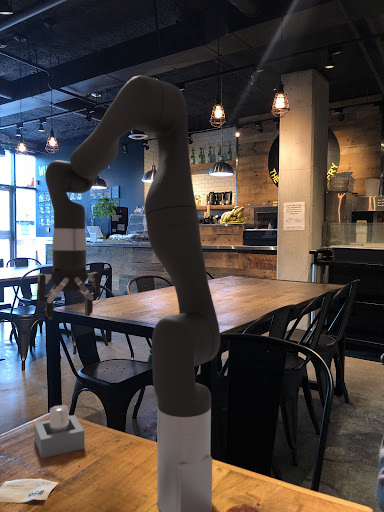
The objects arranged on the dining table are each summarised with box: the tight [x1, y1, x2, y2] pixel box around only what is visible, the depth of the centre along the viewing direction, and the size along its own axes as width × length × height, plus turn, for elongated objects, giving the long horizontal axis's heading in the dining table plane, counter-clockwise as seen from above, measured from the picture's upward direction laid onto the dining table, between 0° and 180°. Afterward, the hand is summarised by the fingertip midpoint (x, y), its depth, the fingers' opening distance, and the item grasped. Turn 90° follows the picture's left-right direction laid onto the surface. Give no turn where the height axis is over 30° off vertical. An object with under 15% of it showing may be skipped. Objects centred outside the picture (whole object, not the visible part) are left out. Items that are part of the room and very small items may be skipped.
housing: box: [33, 414, 86, 460], centre depth 94 cm, size 9×9×4 cm
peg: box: [49, 404, 70, 435], centre depth 94 cm, size 4×4×8 cm
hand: (69, 317), depth 100 cm, fingers open, 8 cm apart
